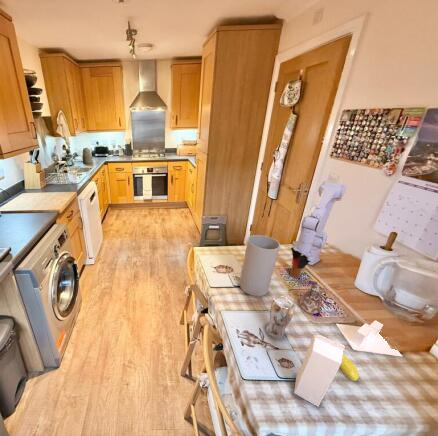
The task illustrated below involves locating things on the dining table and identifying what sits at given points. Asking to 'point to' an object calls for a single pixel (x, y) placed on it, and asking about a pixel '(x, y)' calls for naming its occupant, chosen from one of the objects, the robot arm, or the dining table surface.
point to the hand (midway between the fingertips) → (297, 264)
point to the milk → (318, 369)
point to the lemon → (349, 368)
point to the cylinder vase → (258, 264)
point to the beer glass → (280, 316)
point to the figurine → (312, 299)
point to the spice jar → (295, 272)
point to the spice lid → (295, 262)
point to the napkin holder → (367, 338)
